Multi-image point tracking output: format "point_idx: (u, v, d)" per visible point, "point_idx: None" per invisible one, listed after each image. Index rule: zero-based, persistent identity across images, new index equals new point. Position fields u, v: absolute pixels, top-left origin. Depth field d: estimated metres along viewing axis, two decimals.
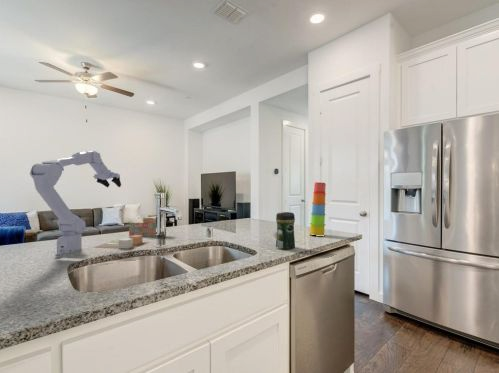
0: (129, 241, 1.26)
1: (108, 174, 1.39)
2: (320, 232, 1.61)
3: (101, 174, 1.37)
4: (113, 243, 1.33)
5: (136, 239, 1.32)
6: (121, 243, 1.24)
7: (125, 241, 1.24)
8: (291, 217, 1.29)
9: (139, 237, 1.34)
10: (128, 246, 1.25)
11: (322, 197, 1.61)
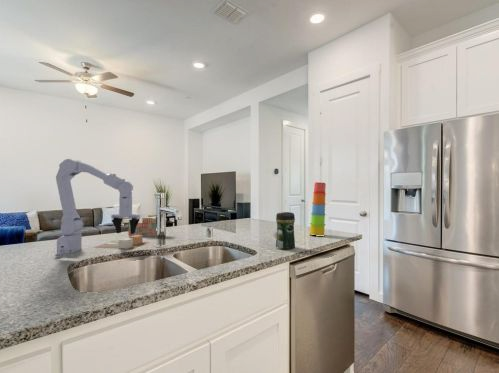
0: (129, 241, 1.26)
1: (129, 213, 1.25)
2: (320, 232, 1.61)
3: (123, 209, 1.23)
4: (113, 243, 1.33)
5: (136, 239, 1.32)
6: (121, 243, 1.24)
7: (125, 241, 1.24)
8: (291, 217, 1.29)
9: (139, 237, 1.34)
10: (128, 246, 1.25)
11: (322, 197, 1.61)
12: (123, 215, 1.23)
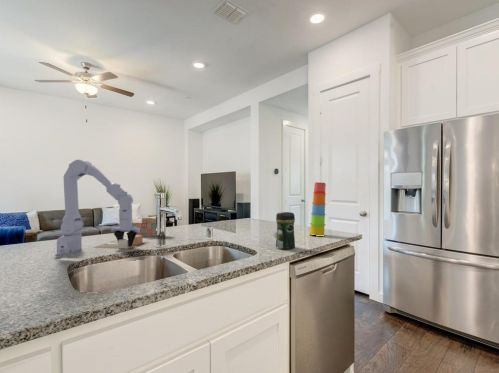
0: None
1: (129, 226, 1.25)
2: (320, 232, 1.61)
3: (123, 222, 1.23)
4: (113, 243, 1.33)
5: (136, 239, 1.32)
6: (121, 243, 1.24)
7: (125, 241, 1.24)
8: (291, 217, 1.29)
9: (139, 237, 1.34)
10: (128, 246, 1.25)
11: (322, 197, 1.61)
12: (123, 228, 1.23)
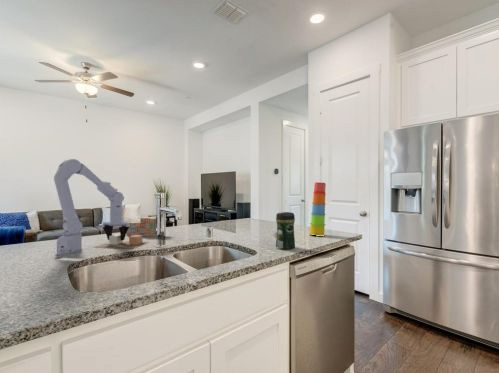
0: None
1: (119, 221, 1.34)
2: (320, 232, 1.61)
3: (114, 217, 1.32)
4: None
5: (136, 239, 1.32)
6: (112, 239, 1.33)
7: (115, 237, 1.32)
8: (291, 217, 1.29)
9: (139, 237, 1.34)
10: (118, 242, 1.33)
11: (322, 197, 1.61)
12: (113, 223, 1.32)
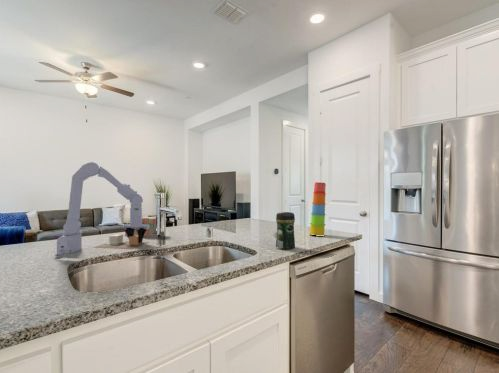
0: (120, 237, 1.34)
1: (139, 223, 1.33)
2: (320, 232, 1.61)
3: (134, 219, 1.32)
4: None
5: (136, 239, 1.32)
6: (112, 239, 1.33)
7: (115, 237, 1.32)
8: (291, 217, 1.29)
9: None
10: (118, 242, 1.33)
11: (322, 197, 1.61)
12: (134, 225, 1.32)
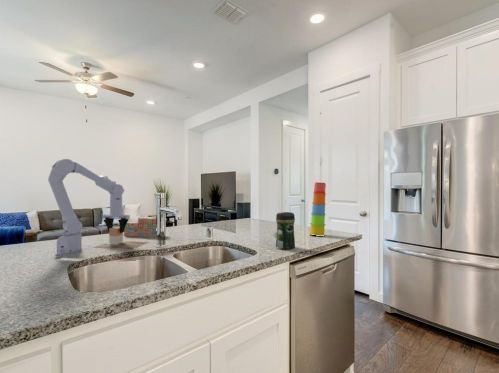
0: (120, 237, 1.34)
1: (119, 213, 1.33)
2: (320, 232, 1.61)
3: (114, 209, 1.32)
4: None
5: (116, 231, 1.32)
6: (112, 239, 1.33)
7: (115, 237, 1.32)
8: (291, 217, 1.29)
9: (119, 229, 1.34)
10: (118, 242, 1.33)
11: (322, 197, 1.61)
12: (113, 215, 1.32)
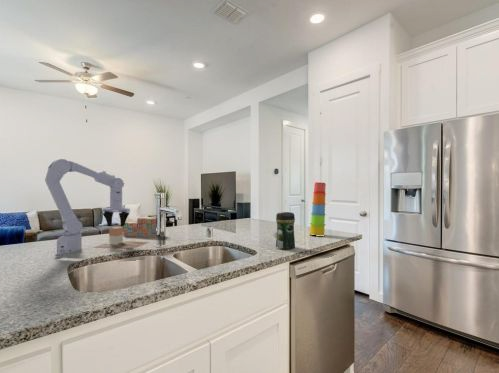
0: (120, 237, 1.34)
1: (120, 207, 1.33)
2: (320, 232, 1.61)
3: (114, 203, 1.32)
4: None
5: (116, 231, 1.32)
6: (112, 239, 1.33)
7: (115, 237, 1.32)
8: (291, 217, 1.29)
9: (119, 229, 1.34)
10: (118, 242, 1.33)
11: (322, 197, 1.61)
12: (113, 209, 1.32)
